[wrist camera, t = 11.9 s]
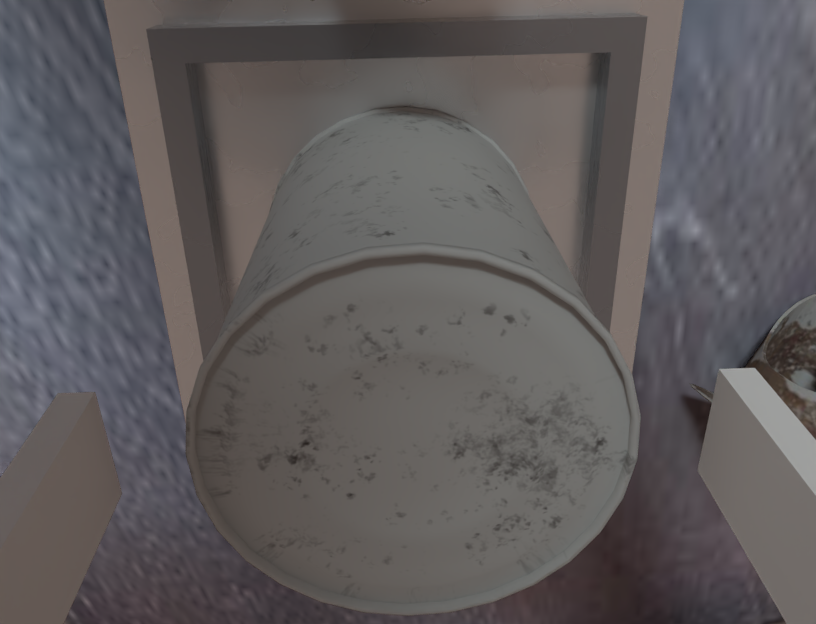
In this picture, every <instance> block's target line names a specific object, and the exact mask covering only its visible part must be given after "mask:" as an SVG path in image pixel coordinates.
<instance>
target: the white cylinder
mask: <svg viewBox="0 0 816 624" xmlns="http://www.w3.org/2000/svg"><path fill="white" fill-rule="evenodd" d="M640 419H641V415H640V411H639V406H638V401H637V396H636V391H635V386H634V381H633V376H632V373H631V371H630V370H629V368H628V366H627V364H626V362H625V360H624V358H623V356H622V354H621V352H620V350H619V348H618V347H617V345H616V343H615V341H614V339H613V337H612V335H611V333H610V331H609V330H608V329H607V328H606V327H605V326H604V325H603V324H602V323H601V322H600V321H599V320H598V319H597V317H596V316H595V315H594V313H593V311H592V309H591V307H590V306H589V304H588V302H587V300H586V298H585V297H584V295H583V293H582V291H581V289H580V288H579V286H578V284H577V282H576V280H575V279H574V277H573V275H572V273H571V271H570V270H569V268H568V266H567V264H566V263H565V261H564V259H563V257H562V255H561V254H560V252H559V250H558V248H557V246H556V245H555V243H554V241H553V239H552V237H551V236H550V234H549V232H548V230H547V228H546V227H545V225H544V223H543V221H542V219H541V218H540V216H539V214H538V212H537V210H536V209H535V207H534V205H533V203H532V201H531V200H530V197H529V193H528V190H527V188H526V186H525V184H524V182H523V180H522V178H521V176H520V174H519V173H518V171H517V169H516V167H515V165H514V163H513V162H512V161H511V160H510V159H509V157H508V156H507V155H506V154H505V153H504V152H503V151H502V150H501V148H500V147H499V146H498V145H497V144H496V143H495V142H494V141H493V140H492V139H491V138H489V137H488V136H486V135H485V134H483V133H482V132H481V131H479V130H478V129H476V128H475V127H473V126H472V125H470V124H469V123H467V122H465V121H462V120H460V119H457V118H455V117H452V116H449V115H447V114H444V113H442V112H439V111H434V110H427V109H420V108H413V107H395V108H383V109H373V110H370V111H367V112H364V113H361V114H358V115H355V116H352V117H349V118H346V119H343V120H341V121H340V122H338V123H336V124H335V125H333V126H331V127H330V128H328V129H326V130H325V131H323V132H321V133H320V134H318V135H317V136H315V137H314V138H313V139H312V140H311V141H310V142H309V143H308V144H307V145H306V146H305V147H304V148H303V149H302V150H301V151H300V152H299V153H298V154H297V155H296V156H295V157H294V159H293V160H292V162H291V163H290V165H289V167H288V168H287V170H286V172H285V173H284V175H283V177H282V178H281V180H280V181H279V183H278V186H277V189H276V192H275V195H274V198H273V202H272V205H271V208H270V211H269V215H268V217H267V219H266V222H265V224H264V227H263V229H262V232H261V234H260V236H259V239H258V241H257V244H256V246H255V248H254V251H253V253H252V256H251V258H250V260H249V263H248V265H247V268H246V270H245V273H244V275H243V277H242V280H241V282H240V285H239V287H238V289H237V292H236V294H235V297H234V299H233V301H232V304H231V306H230V309H229V311H228V314H227V316H226V318H225V321H224V323H223V326H222V328H221V330H220V333H219V335H218V338H217V340H216V342H215V344H214V345H213V347H212V348H211V350H210V352H209V353H208V355H207V356H206V358H205V359H204V361H203V363H202V364H201V366H200V368H199V371H198V374H197V378H196V381H195V384H194V387H193V391H192V394H191V397H190V401H189V404H188V407H187V411H186V457H187V461H188V464H189V468H190V472H191V475H192V479H193V483H194V486H195V490H196V494H197V496H198V498H199V500H200V501H201V503H202V505H203V507H204V508H205V510H206V512H207V514H208V515H209V517H210V519H211V520H212V522H213V524H214V526H215V527H216V529H217V531H218V532H219V533H220V534H221V535H222V536H223V537H224V538H225V539H226V540H227V541H228V542H229V543H230V544H231V545H232V546H233V548H234V549H235V550H236V551H237V552H238V553H239V554H240V555H241V556H242V557H243V558H244V559H245V560H246V561H247V562H249V563H250V564H252V565H253V566H254V567H256V568H257V569H259V570H260V571H262V572H263V573H265V574H266V575H268V576H269V577H271V578H272V579H273V580H275V581H276V582H278V583H279V584H281V585H283V586H285V587H287V588H290V589H292V590H294V591H297V592H299V593H301V594H303V595H306V596H308V597H310V598H313V599H315V600H317V601H319V602H323V603H327V604H331V605H335V606H339V607H343V608H347V609H351V610H355V611H359V612H364V613H377V614H390V615H403V616H412V615H424V614H437V613H449V612H455V611H459V610H463V609H467V608H471V607H475V606H480V605H484V604H488V603H492V602H495V601H498V600H500V599H502V598H505V597H507V596H509V595H512V594H514V593H516V592H519V591H521V590H524V589H526V588H528V587H531V586H533V585H535V584H537V583H538V582H540V581H541V580H543V579H544V578H546V577H547V576H549V575H550V574H552V573H553V572H555V571H556V570H558V569H560V568H561V567H563V566H564V565H566V564H567V563H569V562H570V561H571V560H572V559H573V558H574V557H575V556H577V555H578V554H579V553H580V552H581V551H582V550H583V549H584V548H585V547H586V546H587V545H588V544H589V543H590V542H591V541H592V540H593V539H594V538H595V537H596V536H597V535H598V534H599V533H600V532H601V531H602V529H603V528H604V526H605V525H606V523H607V522H608V520H609V519H610V517H611V516H612V514H613V513H614V511H615V510H616V508H617V507H618V505H619V504H620V502H621V501H622V499H623V497H624V495H625V492H626V489H627V486H628V484H629V481H630V478H631V475H632V472H633V470H634V467H635V464H636V461H637V456H638V444H639V432H640Z"/></svg>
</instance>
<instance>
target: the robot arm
mask: <svg viewBox="0 0 816 624" xmlns="http://www.w3.org/2000/svg"><path fill="white" fill-rule="evenodd" d="M698 472H699V474H700V476H701V477H702V479H703V481H704V482H705V484H706V486H707V488H708V489H709V491H710V493H711V494H712V496H713V498H714V500H715V501H716V503H717V505H718V507H719V508H720V510H721V512H722V513H723V515H724V517H725V519H726V520H727V522H728V524H729V525H730V527H731V529H732V531H733V532H734V534H735V536H736V537H737V539H738V541H739V543H740V544H741V546H742V548H743V549H744V551H745V553H746V555H747V556H748V558H749V560H750V561H751V563H752V565H753V567H754V568H755V570H756V572H757V573H758V575H759V577H760V579H761V580H762V582H763V584H764V585H765V587H766V589H767V591H768V592H769V594H770V596H771V597H772V599H773V601H774V603H775V604H776V606H777V608H778V609H779V611H780V613H781V615H782V616H783V618H784V620H785V622H786V623H787V624H816V440H815V438H814V437H813V436H812V435H811V434H810V432H809V431H808V430H807V429H806V428H805V427H804V425H803V424H802V423H801V422H800V421H799V419H798V418H797V417H796V416H795V415H794V414H793V412H792V411H791V410H790V409H789V408H788V406H787V405H786V404H785V403H784V402H783V401H782V399H781V398H780V397H779V396H778V395H777V393H776V392H775V391H774V390H773V389H772V388H771V386H770V385H769V384H768V383H767V382H766V380H765V379H764V378H763V377H762V376H761V375H760V373H759V372H758V371H757V370H756V369H755V368H734V369H719V372H718V376H717V381H716V386H715V391H714V395H713V400H712V405H711V409H710V414H709V419H708V423H707V428H706V433H705V438H704V442H703V447H702V452H701V456H700V461H699V466H698ZM121 495H122V491H121V488H120V484H119V480H118V476H117V473H116V469H115V465H114V461H113V458H112V454H111V450H110V446H109V442H108V439H107V435H106V431H105V427H104V424H103V420H102V416H101V412H100V409H99V405H98V401H97V397H96V394H95V392H80V393H58V394H57V395H56V397H55V398H54V400H53V401H52V403H51V404H50V406H49V407H48V409H47V410H46V412H45V413H44V414H43V416H42V417H41V419H40V420H39V422H38V423H37V425H36V426H35V428H34V429H33V431H32V432H31V434H30V435H29V437H28V438H27V440H26V441H25V442H24V444H23V445H22V447H21V448H20V450H19V451H18V453H17V454H16V456H15V457H14V459H13V460H12V462H11V463H10V465H9V466H8V467H7V469H6V470H5V472H4V473H3V475H2V476H1V478H0V624H64V622H65V619H66V617H67V615H68V613H69V611H70V608H71V606H72V604H73V602H74V599H75V597H76V595H77V593H78V590H79V588H80V586H81V584H82V582H83V579H84V577H85V575H86V573H87V570H88V568H89V566H90V564H91V561H92V559H93V557H94V555H95V553H96V550H97V548H98V546H99V544H100V541H101V539H102V537H103V535H104V532H105V530H106V528H107V526H108V524H109V521H110V519H111V517H112V515H113V512H114V510H115V508H116V506H117V504H118V501H119V499H120V497H121Z"/></svg>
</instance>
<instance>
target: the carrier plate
mask: <svg viewBox="0 0 816 624" xmlns="http://www.w3.org/2000/svg"><path fill="white" fill-rule="evenodd" d="M104 4H105V10H106V15H107V20H108V25H109V30H110V35H111V41H112V46H113V51H114V56H115V61H116V66H117V71H118V77H119V82H120V87H121V92H122V97H123V102H124V108H125V113H126V118H127V123H128V128H129V133H130V138H131V144H132V149H133V154H134V159H135V164H136V169H137V174H138V180H139V185H140V190H141V195H142V200H143V205H144V211H145V216H146V221H147V226H148V231H149V236H150V241H151V247H152V252H153V257H154V262H155V267H156V272H157V278H158V283H159V288H160V293H161V298H162V303H163V308H164V314H165V319H166V324H167V329H168V334H169V339H170V344H171V350H172V355H173V360H174V365H175V370H176V375H177V381H178V386H179V391H180V396H181V401H182V406H183V411H184V417H185V422H186V411H187V407H188V404H189V401H190V397H191V394H192V391H193V387H194V384H195V381H196V378H197V374H198V371H199V368H200V366H201V364H202V363H203V361H204V359H205V358H206V356H207V355H208V353H209V352H210V350H211V348H212V347H213V345H214V344H215V342H216V340H217V338H218V335H219V333H220V330H221V328H222V326H223V323H224V321H225V318H226V316H227V314H228V311H229V309H230V306H231V304H232V301H233V299H234V297H235V294H236V292H237V289H238V287H239V285H240V282H241V280H242V277H243V275H244V273H245V270H246V268H247V265H248V263H249V260H250V258H251V256H252V253H253V251H254V248H255V246H256V244H257V241H258V239H259V236H260V234H261V232H262V229H263V227H264V224H265V222H266V219H267V217H268V215H269V211H270V208H271V205H272V202H273V198H274V195H275V192H276V189H277V186H278V183H279V181H280V180H281V178H282V177H283V175H284V173H285V172H286V170H287V168H288V167H289V165H290V163H291V162H292V160H293V159H294V157H295V156H296V155H297V154H298V153H299V152H300V151H301V150H302V149H303V148H304V147H305V146H306V145H307V144H308V143H309V142H310V141H311V140H312V139H313V138H314V137H315V136H317V135H318V134H320V133H321V132H323V131H325V130H326V129H328V128H330V127H331V126H333V125H335V124H336V123H338V122H340V121H341V120H343V119H346V118H349V117H352V116H355V115H358V114H361V113H364V112H367V111H370V110H373V109H383V108H395V107H413V108H420V109H427V110H434V111H439V112H442V113H444V114H447V115H449V116H452V117H455V118H457V119H460V120H462V121H465V122H467V123H469V124H470V125H472V126H473V127H475V128H476V129H478V130H479V131H481V132H482V133H483V134H485V135H486V136H488V137H489V138H491V139H492V140H493V141H494V142H495V143H496V144H497V145H498V146H499V147H500V148H501V150H502V151H503V152H504V153H505V154H506V155H507V156H508V157H509V159H510V160H511V161H512V162H513V163H514V165H515V167H516V169H517V171H518V173H519V174H520V176H521V178H522V180H523V182H524V184H525V186H526V188H527V190H528V193H529V197H530V200H531V201H532V203H533V205H534V207H535V209H536V210H537V212H538V214H539V216H540V218H541V219H542V221H543V223H544V225H545V227H546V228H547V230H548V232H549V234H550V236H551V237H552V239H553V241H554V243H555V245H556V246H557V248H558V250H559V252H560V254H561V255H562V257H563V259H564V261H565V263H566V264H567V266H568V268H569V270H570V271H571V273H572V275H573V277H574V279H575V280H576V282H577V284H578V286H579V288H580V289H581V291H582V293H583V295H584V297H585V298H586V300H587V302H588V304H589V306H590V307H591V309H592V311H593V313H594V315H595V316H596V317H597V319H598V320H599V321H600V322H601V323H602V324H603V325H604V326H605V327H606V328H607V329H608V330H609V331H610V333H611V335H612V337H613V339H614V341H615V343H616V345H617V347H618V348H619V350H620V352H621V354H622V356H623V358H624V360H625V362H626V364H627V366H628V368H629V370H630V371H631V373H632V369H633V362H634V355H635V348H636V341H637V334H638V327H639V320H640V312H641V305H642V298H643V291H644V284H645V277H646V270H647V262H648V255H649V248H650V241H651V234H652V227H653V220H654V212H655V205H656V198H657V191H658V184H659V177H660V170H661V162H662V155H663V148H664V141H665V134H666V127H667V120H668V112H669V105H670V98H671V91H672V84H673V77H674V70H675V62H676V55H677V48H678V41H679V34H680V27H681V20H682V12H683V5H684V0H104Z"/></svg>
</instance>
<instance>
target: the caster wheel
mask: <svg viewBox="0 0 816 624" xmlns="http://www.w3.org/2000/svg"><path fill="white" fill-rule="evenodd" d="M745 368H755V369H756V370H757V371H758V372H759V373H760V375H761V376H762V377H763V378H764V379H765V380H766V382H767V383H768V384H769V385H770V386H771V388H772V389H773V390H774V391H775V392H776V393H777V395H778V396H779V397H780V398H781V399H782V401H783V402H784V403H785V404H786V405H787V406H788V408H789V409H790V410H791V411H792V412H793V414H794V415H795V416H796V417H797V418H798V419H799V421H800V422H801V423H802V424H803V425H804V427H805V428H806V429H807V430H808V431H809V432H810V434H811V435H812V436H813V437H814V438H815V440H816V294H814V295H811V296H808V297H806V298H805V299H803V300H801V301H799V302H797V303H796V304H795V305H793V306H792V307H791V308H790V309H788V310H787V311H786V312H785V313H784V314H783V315H782V316H781V317H780V319H779V320H778V321H777V322H776V323H775V325H774V326H773V328H772V329H771V331H770V332H769V334H768V335H767V336H766V338H765V339H764V341H763V342H762V344H761V345H760V347H759V348H758V349H757V351H756V352H755V354H754V355H753V357H752V358H751V360H750V361H749V363H748V364H747V365H746V367H745ZM690 385H691V387H692V388H693V389H695V390H696V391H697V392H698V393H700V394H701V395H702V396H703V397H705V398H706V399H707V400H708V401H710V402H711V403H712V400H713V395H714V393H713V392H710V391H708V390H706V389H703V388H701V387H699V386H696V385H694V384H690Z"/></svg>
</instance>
